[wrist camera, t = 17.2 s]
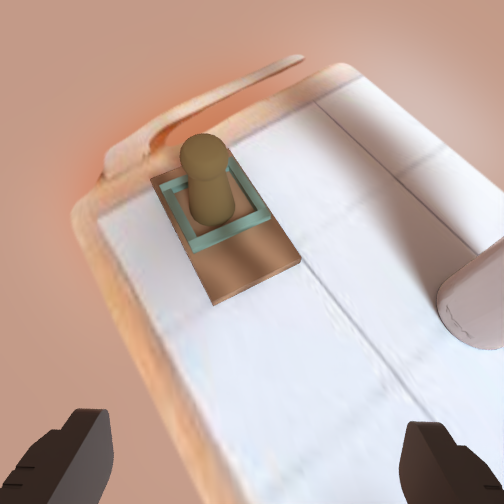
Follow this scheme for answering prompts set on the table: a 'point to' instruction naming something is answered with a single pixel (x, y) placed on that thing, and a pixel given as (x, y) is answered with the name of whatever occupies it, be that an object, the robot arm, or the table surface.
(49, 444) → the robot arm
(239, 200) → the holder plate
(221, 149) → the cork
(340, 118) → the table surface
